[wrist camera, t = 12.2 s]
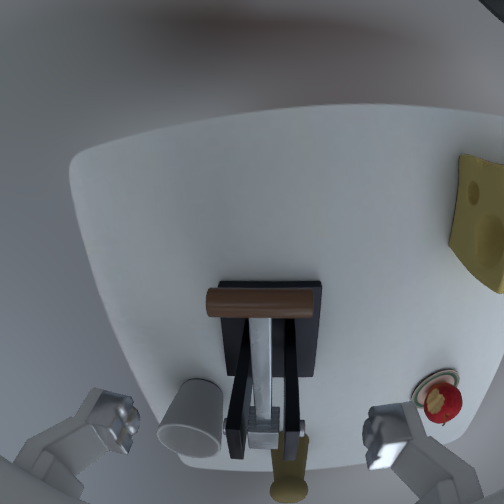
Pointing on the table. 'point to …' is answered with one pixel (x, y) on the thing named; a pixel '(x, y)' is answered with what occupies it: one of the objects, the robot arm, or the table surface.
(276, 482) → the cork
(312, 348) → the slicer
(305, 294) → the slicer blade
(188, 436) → the cup
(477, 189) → the cheese
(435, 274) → the table surface
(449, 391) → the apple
